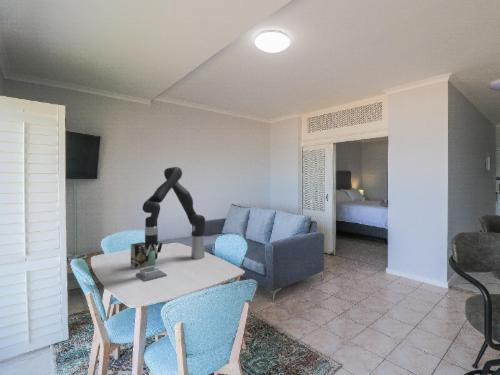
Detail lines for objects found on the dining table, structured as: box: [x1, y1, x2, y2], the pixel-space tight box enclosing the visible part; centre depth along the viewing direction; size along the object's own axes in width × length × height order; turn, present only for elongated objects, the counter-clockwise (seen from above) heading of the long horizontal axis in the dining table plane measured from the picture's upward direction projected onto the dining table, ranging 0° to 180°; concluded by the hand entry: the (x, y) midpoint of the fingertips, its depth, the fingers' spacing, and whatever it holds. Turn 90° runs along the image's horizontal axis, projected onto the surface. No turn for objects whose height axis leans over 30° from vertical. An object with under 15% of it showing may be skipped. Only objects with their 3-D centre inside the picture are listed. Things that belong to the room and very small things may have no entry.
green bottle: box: [147, 247, 156, 267], centre depth 168 cm, size 5×5×12 cm
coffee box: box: [130, 241, 148, 270], centre depth 183 cm, size 9×6×16 cm
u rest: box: [135, 265, 168, 282], centre depth 168 cm, size 14×14×4 cm
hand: (151, 260), depth 168 cm, fingers closed on green bottle, 4 cm apart
